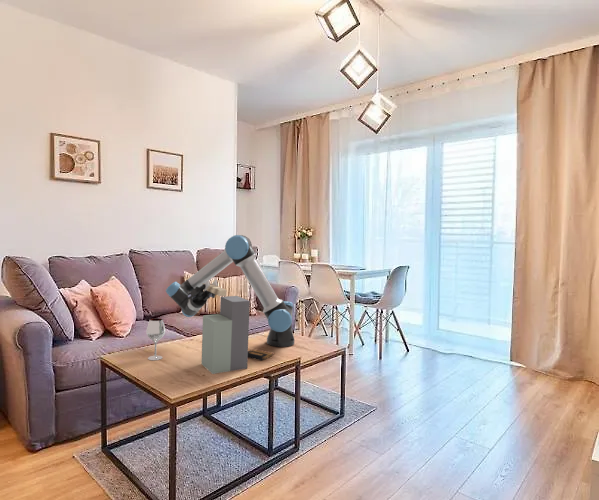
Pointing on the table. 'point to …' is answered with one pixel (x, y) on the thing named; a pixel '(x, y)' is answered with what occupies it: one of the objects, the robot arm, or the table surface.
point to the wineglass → (155, 334)
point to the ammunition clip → (259, 354)
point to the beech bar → (216, 290)
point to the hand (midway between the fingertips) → (212, 282)
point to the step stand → (226, 336)
